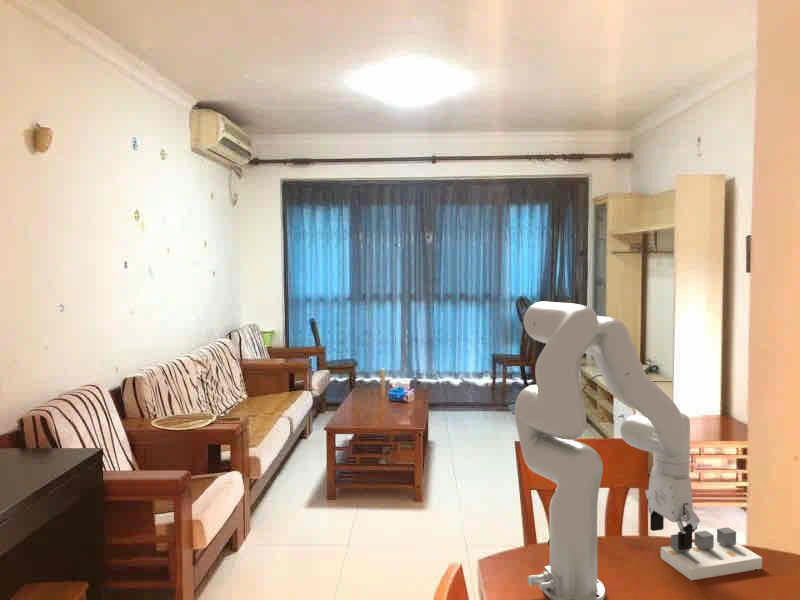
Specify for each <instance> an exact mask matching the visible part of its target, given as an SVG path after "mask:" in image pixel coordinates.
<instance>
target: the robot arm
mask: <svg viewBox="0 0 800 600" xmlns="http://www.w3.org/2000/svg"><path fill="white" fill-rule="evenodd" d="M523 326H524V329H525V332H526V333H527V335H528V336H529V337H530V338H531V339H533V340H535V341H537V342H540V343H543V344H545V346H544V347H543V348H542V350H541V352H540V354H539V356H538V357H537V360H536V363H535V368H534V371H535V372H534V373H535V383H536V384H530V385H528V386H526V387H524V388H523V389H521V391H520V392H519V393H518V396H517V398H516V400H515V403H514V419H515V424H516V429H517V434H518V439H519V443H520V449H521V450H520V451H521V454H522V458H523V460H524V463H525V464H526V466H527V468H529V470H530V471H532V472H533V473H535V474H537V475H539V476H540V477H543V478H545V479H547V480H549V481H551V482H552V483H555V484H556V490H555V492H554V494H553V495H552V497H551V499H550V502H549V507H548V508H549V510H548V512H549V513H548V517H549V521H548V522H549V525H548V526H549V530H548V532H549V538H550V548H549V565H546V566H544V571H543V572H541V574H533V575H528V576H527V583H528V585H529V587H532V586H538V587H539V590H540V591H543V593H544V594H545V595H546V596H547V597H548V598H549V599H550V600H604V599H605V598H606V588H605V586H604V584H603V582H602V581H600V580H599V579H598V505H599V504H598V502H599V500H598V499H599V492H600V487H601V486H600V485H601V483H602V482H601V481H602V476H603V472H604V470H603V469H604V466H603V461H602V458H601V456H600V454H599V453H598V452H597V451H596V449H594V448H592V447H591V446H590V445H588V444H586V443H584V442H581V441H577V440H576V439H579V438H580V437H581V436H582V435H583V434H584V432H585V431H586V427H587V414H586V413H587V411H586V406H585V402H584V395H583V389H582V385H581V379H580V365H581V362H582V359H583V356H584V354H586V355H591V356H592V358H593V359H594V361H595V363H596V366H597V368H598V371H599V372H600V375H601V377H602V380H603V382H604V384H605V386H606V388H607V391H609V393H611V395H613V396H614V397H616V398H617V399H618V400H619V401H621V402H623V403H625V404H626V405H628V406H629V407H631V408H632V409H633V410H636V412H639V413H637V414H632V415H630V416H628V417H626V418H625V419H624V420H623V421H622V423H621V426H620V431H619V432H620V435H621V438H622V440H623V441H624V442H625V443H626V444H628V445H629V446H630V447H632V448H636V449H639V450H641V451H645V452H648V453H652V454H653V466H652V467H651V471H650V475H649V482H648V489H645V491H644V493H645V496H646V503H647V505H648V512H649V513H650V518H649V519H650V521H649V523H650V526H649V527H650V531H652V532H654V531H655V532H656V531H662V530H664V525H665V524H664V521H665V519H667V520H668V521H670V522H672V523H676V524H677V527H678V529H679V531H677V532H678V533H677V534H678V549H679V550H686V549H691V548H692V543H693V533H695V531H696V530H698V526H699V524H700V521H701V520H700V517H699V516H698V515H697V514H696V513H695V512H694V510H693V492H692V491H693V490H692V483H691V478H690V477H691V476H690V460H691V459H690V453H691V452H690V449H691V447H690V446H691V445H690V443H691V421H690V418H689V416H688V415H687V414H685V413H682V412H680V410H679V408H678V406H677V405H676V403H675V402H674V401H673V399H672V398H671V397H669V396H668V394H666V392H665V391H664V390H662V389H661V387H660V386H659V385H658V384H657V383H655V382H654V381H653V380H652V379H651V378H650V377H649V376H648V374H646V371H645V369H644V367H643V364H642V361H641V360H640V357H639V355H638V353H637V350H636V347H635V345H634V342H633V339H632V337H631V334H630V333H629V331H628V328H627V326H626V325H625V323H624V322H622V321H621V320H620V319H618V318H614V317H610V316H601V315H597V313H596V311H595V310H594V309H593V308H591V307H589V306H587V305H584V304H578V303H571V302H554V301H538V302H535V303H533V304H532V305H530V306H529V307H528V308H527V309H526V311H525V313H524V316H523ZM664 518H665V519H664ZM683 522H684V523H685V524H686V525H684V523H683ZM549 538H548V539H549Z"/></svg>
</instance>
